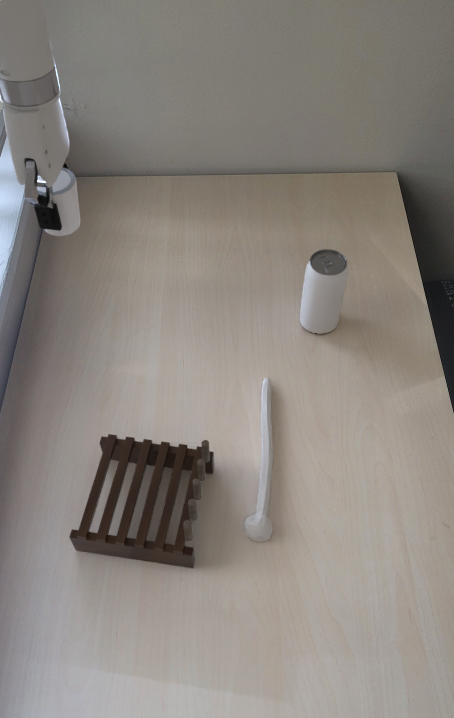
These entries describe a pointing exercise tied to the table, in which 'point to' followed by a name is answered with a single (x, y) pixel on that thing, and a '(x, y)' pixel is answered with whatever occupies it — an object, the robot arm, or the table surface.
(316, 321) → the can
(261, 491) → the white spoon
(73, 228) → the white cup
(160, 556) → the rack
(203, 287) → the table surface
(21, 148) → the robot arm
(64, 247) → the table surface
